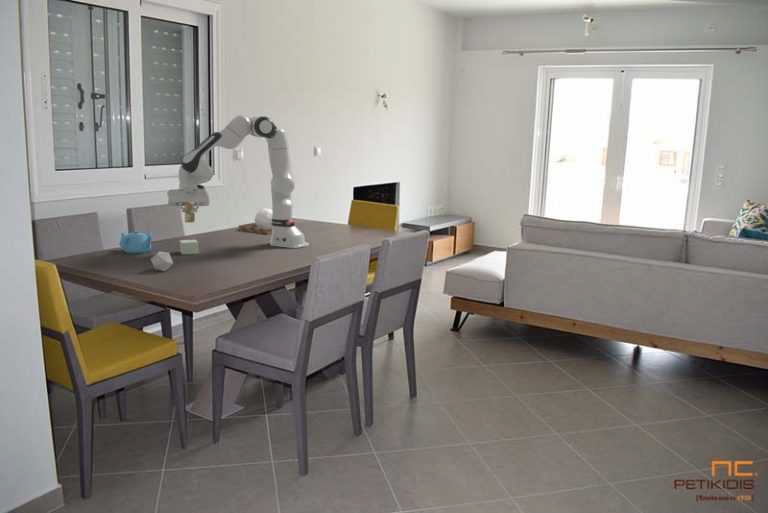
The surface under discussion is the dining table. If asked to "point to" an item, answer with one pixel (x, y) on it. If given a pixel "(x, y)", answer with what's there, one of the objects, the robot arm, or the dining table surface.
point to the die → (162, 261)
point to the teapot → (135, 242)
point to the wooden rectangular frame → (254, 228)
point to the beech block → (189, 212)
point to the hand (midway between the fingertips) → (189, 211)
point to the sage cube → (189, 247)
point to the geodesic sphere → (264, 218)
